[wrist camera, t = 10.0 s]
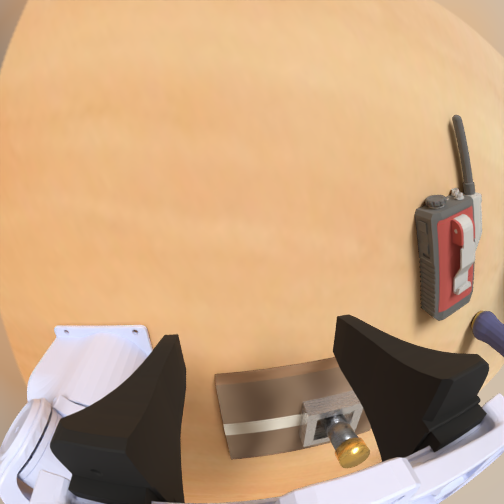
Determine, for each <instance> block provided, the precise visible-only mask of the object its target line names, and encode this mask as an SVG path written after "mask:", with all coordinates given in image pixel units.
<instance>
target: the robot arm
mask: <svg viewBox="0 0 504 504" xmlns="http://www.w3.org/2000/svg"><path fill="white" fill-rule="evenodd" d="M66 330H67V331H68V332H67V331H66ZM134 330H137V331H138V332H135V331H134ZM54 331H55V334H56V337H57V338H56V339H55V340H54V342H53V343H52V344H51V346H50V347H49V349H48V350H47V351H46V353H45V354H44V356H43V357H42V359H41V360H40V361H39V363H38V364H37V366H36V367H35V369H34V370H33V372H32V374H31V376H30V378H29V382H28V387H27V400H28V403H27V404H26V405H25V406H24V407H23V409H22V410H21V411H20V412H19V414H18V415H17V417H16V418H15V420H14V421H13V423H12V425H11V426H10V428H9V430H8V432H7V434H6V436H5V438H4V440H3V443H2V445H1V448H0V497H1V499H2V501H3V502H4V503H5V504H438V503H440V502H441V501H443V500H444V499H446V498H447V497H449V496H450V495H452V494H453V493H455V492H456V491H457V490H459V489H460V488H461V487H462V486H464V485H465V484H467V483H468V482H469V481H471V480H472V479H473V478H474V477H476V476H477V475H478V474H479V473H481V472H482V471H483V470H484V469H485V468H486V467H488V466H489V465H490V464H491V463H492V462H493V461H495V460H496V459H497V458H498V457H499V456H500V455H501V454H502V453H503V452H504V397H503V396H502V395H501V394H500V393H499V394H497V395H496V396H494V397H493V398H492V399H490V400H489V401H488V402H487V403H485V405H484V406H483V407H480V405H479V404H478V403H479V402H480V398H479V397H478V396H477V394H478V392H479V390H480V389H481V387H482V385H483V383H484V381H485V379H486V377H487V375H488V371H489V364H488V363H487V362H486V361H485V360H484V359H483V358H482V357H480V356H479V355H478V354H457V353H449V352H442V351H436V350H432V349H428V348H424V347H420V346H417V345H414V344H411V343H408V342H405V341H403V340H400V339H398V338H396V337H393V336H391V335H389V334H387V333H385V332H383V331H381V330H379V329H377V328H375V327H373V326H371V325H369V324H367V323H365V322H363V321H362V320H360V319H358V318H356V317H354V316H351V315H343V316H337V322H336V331H335V339H334V346H333V353H334V355H335V358H336V360H337V363H338V365H339V367H340V369H341V371H342V373H343V374H344V376H345V378H346V379H347V381H348V383H349V384H350V386H351V388H352V389H353V391H354V393H355V394H356V396H357V398H358V399H359V401H360V403H361V405H362V407H363V409H364V411H365V414H366V416H367V418H368V421H369V423H370V426H371V428H372V431H373V434H374V436H375V439H376V442H377V445H378V448H379V451H380V455H381V459H382V462H381V463H379V464H376V465H374V466H371V467H368V468H365V469H363V470H360V471H357V472H354V473H351V474H348V475H344V476H341V477H338V478H334V479H331V480H327V481H323V482H320V483H315V484H311V485H308V486H305V487H302V488H298V489H295V490H293V491H291V492H289V493H286V494H284V495H282V496H280V497H274V498H267V499H259V500H251V501H241V502H227V503H185V502H184V493H183V484H182V471H181V445H180V434H181V422H182V415H183V407H184V399H185V392H186V367H185V363H184V359H183V354H182V350H181V345H180V341H179V336H178V334H177V335H164V337H163V338H162V339H161V340H160V342H159V343H158V344H157V345H156V347H155V348H154V349H153V348H152V345H151V341H150V338H149V334H148V330H147V328H146V327H145V326H143V325H117V326H63V325H57V326H56V327H55V328H54Z"/></svg>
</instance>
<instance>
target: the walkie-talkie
mask: <svg viewBox="0 0 504 504" xmlns="http://www.w3.org/2000/svg"><path fill="white" fill-rule="evenodd" d="M452 120H453V124H454V129H455V133H456V138H457V142H458V148H459V153H460V159H461V165H462V171H463V179H464V182H463V189H464V193H462V192H459V189H457V188H454V189H451V190H452V193H451V195H450V196H447V197H445V196H443V195H432V196H429V197H427V198H426V199H425V203H426V205H425V206H422V207H420V208H418V209H416V212H415V221H416V229H417V239H418V250H419V258H420V261H419V263H420V268H421V271H420V273H421V276H420V278H421V281H420V282H421V297H422V298H421V300H422V302H421V305H422V306H421V308H422V309H423V310H425V311H426V312H427V313H429V314H430V315H431V316H432V317H434V318H435V319H437V320H438V321H440V320H443V319H445V318H447V317H448V316H450V315H451V314H453V313H454V312H456V311H457V310H458V309H460V308H461V307H463V306H464V305H466V304H467V303H468V302H469V301H470V298H471V295H472V292H473V280H474V262H475V251H476V249H477V246H478V243H479V240H480V237H481V234H482V212H481V202H482V198H481V194H480V193H476V192H475V186H474V182H473V179H472V171H471V164H470V158H469V152H468V146H467V141H466V136H465V131H464V127H463V123H462V119H461V117H460V116H459V115H454V116H453V118H452Z"/></svg>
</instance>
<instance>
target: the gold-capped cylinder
mask: <svg viewBox="0 0 504 504" xmlns="http://www.w3.org/2000/svg"><path fill="white" fill-rule="evenodd" d="M319 420H320V422H321V424H322V426H323V428H324V430H325V432H326V434H327V435H328V437H329V439H330V441H331V443H332V445H333V447H334V449H335V450H336V451H335V455H336V457H337V459H338V461H339V463H340V465H341V466H342V467H343V468H352V467H355V466H357V465H359V464H361V463H362V462H363V461H365V460H366V459H367V457H368V456H369V454H370V450H369V448H368V447H367V445H366V444H365V443H364V441H363V440H362V439H361V438H358V436H357V435H356V433H355V432H354V430H353V429H352V427H351V426H350V424H349V423H348V421H347V420H346V418H345V417H344V415H343V414H340V415H336V416H332V417H328V418H324V419H319Z"/></svg>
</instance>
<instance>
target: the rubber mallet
mask: <svg viewBox="0 0 504 504" xmlns="http://www.w3.org/2000/svg"><path fill="white" fill-rule="evenodd" d="M471 328H472V330H473V334H474V336H475V337H476V338H477V339H478V340H481V341H483V342H485V343H487V344H489V345H490V346H491V347H492V348H494V349H495V350H496V351H497V352H499V353H500V354H501V355H502V356H503V357H504V324H503V323H501V322H500V321H499V320H498V319H497V318H496V316H495V315H494V314H493V313H492V312H490V311H480V312H478V313H477V315H476V316H475V317H474V319H473V321H472V325H471Z"/></svg>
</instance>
